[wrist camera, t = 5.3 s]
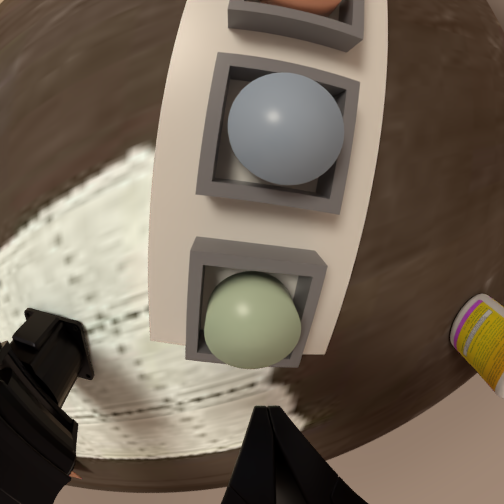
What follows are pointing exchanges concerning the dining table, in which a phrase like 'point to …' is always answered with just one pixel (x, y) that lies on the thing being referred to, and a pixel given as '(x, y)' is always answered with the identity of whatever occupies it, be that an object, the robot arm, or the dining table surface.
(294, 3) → the terracotta button
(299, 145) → the slate blue button
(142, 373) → the dining table surface
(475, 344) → the supplement bottle
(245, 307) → the sage button
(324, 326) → the button panel
